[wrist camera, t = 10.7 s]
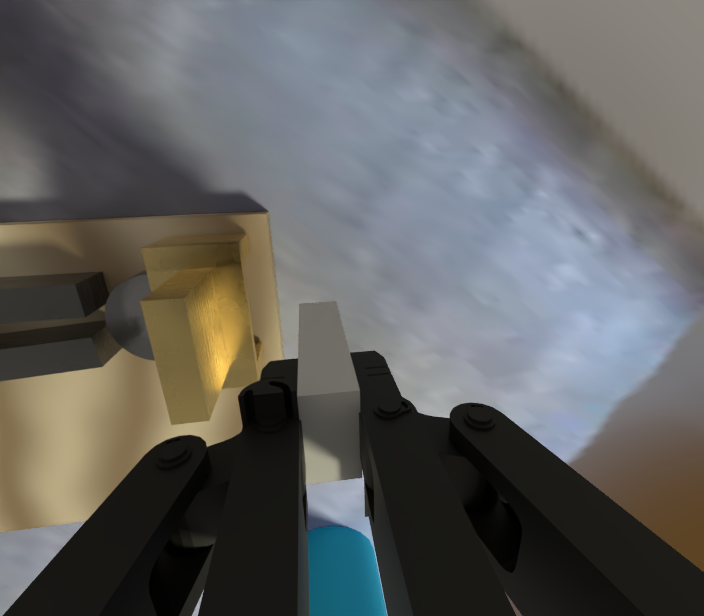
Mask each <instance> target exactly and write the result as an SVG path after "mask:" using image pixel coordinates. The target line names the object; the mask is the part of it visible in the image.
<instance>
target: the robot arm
mask: <svg viewBox="0 0 704 616" xmlns="http://www.w3.org/2000/svg"><path fill="white" fill-rule="evenodd" d="M238 402H239V408H240V414H241V419H242V425H243V427H242V432H240V433H239V434H237V435H236V436H234V437H232V438H230V439H228V440H225V441H223V442H220V443H217V444H214V445H211V446H207V445H206V441H204V440H203V439H202V438H201V437H199V436H194V435H181V436H177V437H173V438H170V439H167V440H165V441H163V442H161V443H159V444H158V445H156V446H154V447H153V448H152V449H151V450H150V451H149V452H147V453H146V454H145V455H144V456H143V457H142V459H141V460H140V461H139V462H138V463H137V464H136V465H135V467H134V468H133V469H132V470H131V471H130V472H129V473H128V474H127V476H126V477H125V478H124V479H123V480H122V481H121V482H120V483H119V485H118V486H117V487H116V488H115V489H114V490H113V491H112V493H111V494H110V495H109V496H108V497H107V498H106V499H105V500H104V502H103V503H102V504H101V505H100V506H99V507H98V508H97V510H96V511H95V512H94V513H93V514H92V515H91V516H90V517H89V519H88V520H87V521H86V522H85V523H84V524H83V525H82V526H81V528H80V529H79V530H78V531H77V532H76V533H75V534H74V536H73V537H72V538H71V539H70V540H69V541H68V542H67V543H66V545H65V546H64V547H63V548H62V549H61V550H60V551H59V553H58V554H57V555H56V556H55V557H54V558H53V559H52V560H51V562H50V563H49V564H48V565H47V566H46V567H45V568H44V570H43V571H42V572H41V573H40V574H39V575H38V576H37V577H36V579H35V580H34V581H33V582H32V583H31V584H30V585H29V586H28V588H27V589H26V590H25V591H24V592H23V593H22V594H21V596H20V597H19V598H18V599H17V600H16V601H15V602H14V603H13V605H12V606H11V607H10V608H9V609H8V610H7V611H6V613H5V614H4V615H3V616H192V614H193V612H194V609H195V607H196V605H197V603H198V601H199V598H200V596H201V594H202V592H203V590H204V592H203V597H202V601H201V605H200V609H199V613H198V616H310V615H309V560H308V504H307V493H306V485H308V484H315V483H323V482H331V481H339V480H347V479H354V478H362V470H363V475H364V489H365V517H367V516H369V520H370V525H371V530H372V536H373V541H374V546H375V551H376V556H377V562H378V567H379V572H380V577H381V582H382V588H383V593H384V598H385V603H386V609H387V614H388V616H516V614H515V612H514V610H513V608H512V606H511V604H510V602H509V600H508V598H507V596H506V594H507V595H508V596H509V598H510V599H511V600H512V602H513V603H514V605H515V606H516V607H517V609H518V610H519V611H520V613H521V614H522V616H704V572H703V571H701V570H700V569H699V568H698V567H696V566H695V565H694V564H693V563H691V562H690V561H689V560H687V559H686V558H685V557H684V556H682V555H681V554H680V553H679V552H677V551H676V550H675V549H674V548H672V547H671V546H670V545H668V544H667V543H666V542H664V541H663V540H662V539H661V538H660V537H658V536H657V535H656V534H655V533H653V532H652V531H651V530H649V529H648V528H647V527H646V526H644V525H643V524H642V523H641V522H639V521H638V520H637V519H635V518H634V517H633V516H632V515H631V514H629V513H628V512H627V511H625V510H624V509H623V508H622V507H620V506H619V505H618V504H617V503H615V502H614V501H613V500H611V499H610V498H609V497H608V496H606V495H605V494H604V493H603V492H601V491H600V490H599V489H598V488H596V487H595V486H594V485H593V484H591V483H590V482H589V481H587V480H586V479H585V478H584V477H582V476H581V475H580V474H578V473H577V472H576V471H575V470H574V469H572V468H571V467H570V466H568V465H567V464H566V463H565V462H563V461H562V460H561V459H560V458H558V457H557V456H556V455H555V454H553V453H552V452H551V451H549V450H548V449H547V448H546V447H544V446H543V445H542V444H541V443H539V442H538V441H537V440H536V439H534V438H533V437H532V436H530V435H529V434H528V433H527V432H525V431H524V430H523V429H522V428H520V427H519V426H518V425H517V424H515V423H514V422H513V421H511V420H510V419H509V418H508V417H506V416H505V415H504V414H503V413H501V412H500V411H498V410H496V409H495V408H493V407H490V406H487V405H484V404H479V403H465V404H460V405H458V406H456V407H454V408H453V410H452V411H451V413H450V418H443V417H434V416H428V415H424V414H421V413H418V412H417V410H416V408H415V407H414V405H413V404H412V403H411V402H410V401H408V400H407V399H405V398H403V397H402V396H401V394H400V392H399V389H398V387H397V385H396V383H395V381H394V378H393V376H392V374H391V372H390V369H389V367H388V365H387V363H386V361H385V358H384V357H383V356H381V355H380V354H379V353H377V352H376V351H365V352H354V353H350V351H349V348H348V344H347V340H346V337H345V333H344V329H343V325H342V322H341V318H340V314H339V311H338V307H337V303H336V301H333V302H319V303H305V304H299V343H298V359H287V360H276V361H270V362H269V363H268V364H267V365H266V366H265V367H264V368H263V369H262V372H261V377H260V380H259V381H257V382H254V383H252V384H250V385H248V386H247V387H245V388H244V389H243V390H242V391H241V392H240V394H239V395H238ZM204 587H205V588H204ZM505 592H506V594H505Z"/></svg>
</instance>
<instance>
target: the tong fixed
mask: <svg viewBox="0 0 704 616" xmlns="http://www.w3.org/2000/svg"><path fill="white" fill-rule="evenodd" d="M150 293H151V289H150V285H149V281H148V276H147V272H146V269H145V270H143V271H141V272H139V273H138V274H136V275H134V276H133V277H131V278H129V279H128V280H126V281H124V282H122V283H121V284H119V285H118V286H117V287H116V288H115V289H114V290H113V291H112V292H111V294H110V295H109V292H108V289H107V285H106V282H105V278H104V275H103V271H100V272H83V273H66V274H49V275H32V276H16V277H0V324H3V323H16V322H30V321H44V320H57V319H71V318H84V317H87V316H88V315H90V314H91V313H93V312H94V311H96V310H98V309H99V308H101V307H102V306H104V305H105V304H106V305H105V321H106V325H107V328H108V330H109V332H110V334H111V335H112V337H113V338H114V340H115V341H116V342H117V343H118V344H119V345H120V346H121V347H122V348H124V349H125V350H126V351H128V352H130V353H131V354H133V355H135V356H138V357H140V358H143V359H147V360H152V361H155V359H154V355H153V351H152V347H151V343H150V339H149V335H148V331H147V327H146V323H145V319H144V315H143V311H142V307H141V303H140V301H141V300H142V299H144V298H145V297H146V296H147V295H149V294H150Z"/></svg>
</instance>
